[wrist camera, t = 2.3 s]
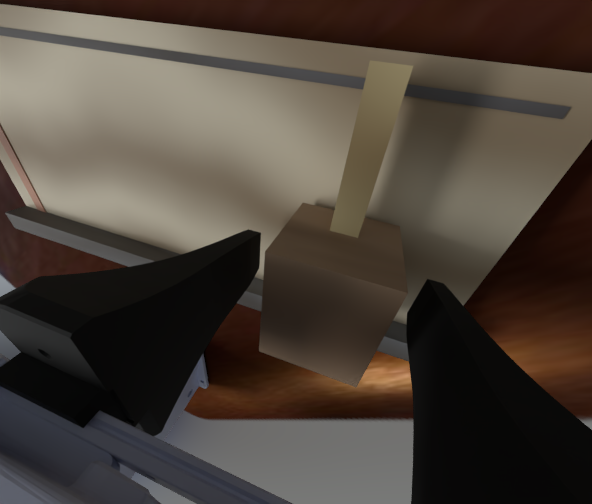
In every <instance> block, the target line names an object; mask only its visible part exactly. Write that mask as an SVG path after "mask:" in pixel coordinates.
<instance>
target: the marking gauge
mask: <svg viewBox="0 0 592 504" xmlns="http://www.w3.org/2000/svg"><path fill="white" fill-rule="evenodd" d="M412 69H413V66H410V65H402V64H394V63H386V62H379V61H371V60H370V62H369V67H368V71H367V75H366V79H365V84H364V88H363V92H362V96H361V100H360V105H359V109H358V113H357V117H356V122H355V126H354V130H353V134H352V138H351V143H350V147H349V151H348V155H347V159H346V164H345V168H344V172H343V176H342V181H341V185H340V189H339V193H338V197H337V202H336V206H335V210H331V209H327V208H323V207H319V206H315V205H311V204H307V203H302V204H301V206H300V207H299V208H298V210H297V211H296V212H295V213H294V215H293V216H292V217H291V219H290V220H289V221H288V223H287V224H286V225H285V226H284V228H283V229H282V230H281V232H280V233H279V234H278V235H277V237H276V238H275V239H274V241H273V242H272V243H271V245H270V246H269V247H268V248H267V250H266V251H265V260H264V277H263V293H262V309H261V326H260V342H259V351H260V352H262V353H265V354H268V355H271V356H273V357H276V358H279V359H281V360H284V361H287V362H289V363H292V364H295V365H297V366H300V367H303V368H306V369H308V370H311V371H314V372H316V373H319V374H322V375H324V376H327V377H330V378H332V379H335V380H338V381H341V382H343V383H346V384H349V385H351V386H354V387H357V385H358V383H359V381H360V379H361V378H362V376H363V374H364V372H365V370H366V369H367V367H368V365H369V363H370V361H371V360H372V358H373V356H374V354H375V352H376V350H377V349H378V347H379V345H380V343H381V341H382V340H383V338H384V336H385V334H386V332H387V331H388V329H389V327H390V325H391V323H392V321H393V320H394V318H395V316H396V314H397V312H398V311H399V309H400V307H401V305H402V303H403V301H404V300H405V298H406V296H407V294H408V288H407V280H406V272H405V264H404V256H403V248H402V240H401V232H400V226H397V225H393V224H389V223H385V222H381V221H376V220H372V219H368V218H365V214H366V211H367V208H368V205H369V202H370V199H371V196H372V193H373V190H374V187H375V183H376V180H377V177H378V174H379V171H380V168H381V165H382V162H383V159H384V156H385V152H386V149H387V146H388V143H389V140H390V137H391V134H392V131H393V128H394V125H395V121H396V118H397V115H398V112H399V109H400V106H401V103H402V100H403V97H404V94H405V90H406V87H407V84H408V81H409V78H410V75H411V72H412Z"/></svg>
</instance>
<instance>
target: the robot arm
mask: <svg viewBox="0 0 592 504" xmlns="http://www.w3.org/2000/svg"><path fill="white" fill-rule="evenodd" d="M260 243H261V233H260V232H257V231H253V230H249V229H248V230H245V231H242V232H240V233H237V234H235V235H232V236H230V237H228V238H225V239H223V240H220V241H218V242H215V243H213V244H210V245H207V246H205V247H202V248H199V249H196V250H193V251H191V252H188V253H185V254H182V255H178V256H175V257H171V258H167V259H164V260H160V261H155V262H151V263H146V264H141V265H136V266H131V267H126V268H119V269H113V270H106V271H98V272H90V273H80V274H68V275H56V276H42V277H38V278H36V279H34V280H32V281H30V282H28V283H26V284H24V285H22V286H20V287H18V288H16V289H15V290H13V291H11V292H9V293H7V294H5V295H3V296H1V297H0V330H1V331H2V333H4V335H5V336H6V337H7V338H8V339H9V340H10V341H11V342H12V343H13V344H14V345H15V346H16V347H17V348H18V349H19V350H20V351H21V353H19V354H18V355H17V356H15V357H14V358H13V359H11V360H9V359H8V358H6V357H5V356H3V355H2V354H0V504H161V503H160V502H158V501H157V500H156V499H155V498H154V497H153V496H151V494H150V493H149V491H148V489H146V488H145V487H143V486H141V485H140V484H138V483H136V482H135V481H133V480H131V478H132V476H133V475H134V473H135V472H137V473H139V474H141V475H143V476H145V477H147V478H149V479H151V480H153V481H154V482H156V483H158V484H160V485H162V486H164V487H166V488H168V489H170V490H172V491H174V492H175V493H177V494H179V495H181V496H183V497H185V498H187V499H189V500H191V501H193V502H195V503H197V504H292V503H290V502H288V501H286V500H284V499H282V498H280V497H278V496H276V495H274V494H271V493H269V492H267V491H265V490H263V489H261V488H259V487H257V486H255V485H253V484H251V483H249V482H247V481H245V480H243V479H241V478H239V477H236V476H234V475H232V474H230V473H228V472H226V471H224V470H222V469H220V468H218V467H216V466H214V465H212V464H209V463H207V462H205V461H203V460H201V459H199V458H197V457H195V456H193V455H191V454H189V453H187V452H185V451H183V450H181V449H178V448H176V447H174V446H172V445H170V444H168V443H166V442H164V440H165V438H166V437H167V435H168V434H169V432H170V430H171V429H172V427H173V425H174V424H175V423H176V421H177V420H178V418H179V416H180V415H181V413H182V412H183V410H184V409H185V407H186V406H187V404H188V402H189V401H190V399H191V398H192V396H193V395H194V393H195V391H196V390H197V388H198V387H199V386H200V387H202V388H205V389H206V388H207V387H208V386H209V383H208V377H207V371H206V366H205V360H204V354H203V352H204V351H205V349H206V347H207V346H208V344H209V342H210V341H211V339H212V337H213V336H214V334H215V332H216V331H217V329H218V328H219V326H220V325H221V323H222V322H223V320H224V319H225V318H226V316H227V315H228V314H229V312H230V311H231V310H232V308H233V307H234V306H235V304H236V303H237V302H238V301H239V299H240V298H241V297H242V295H243V294H244V292H245V291H246V290H247V288H248V287H249V286H250V284H251V282H252V281H253V279H254V277H255V275H256V273H257V271H258V269H259V265H260ZM406 337H407V347H408V356H409V364H410V373H411V381H412V390H413V413H414V441H413V442H414V443H413V479H412V501H411V504H592V430H591V429H590V428H589V427H587V426H586V425H585V424H584V423H582V422H581V421H580V420H579V419H578V418H576V417H575V416H574V415H573V414H572V413H571V412H569V411H568V410H567V409H566V408H565V407H563V406H562V405H561V404H560V403H559V402H557V401H556V400H555V399H554V398H553V397H552V396H551V395H549V394H548V393H547V392H546V391H545V390H544V389H543V388H542V387H540V386H539V385H538V384H537V383H536V382H535V381H534V380H533V379H532V378H531V377H530V376H529V375H528V374H527V373H525V372H524V371H523V370H522V369H521V368H520V367H519V366H518V365H517V364H516V363H515V362H514V361H513V360H512V359H511V358H510V357H509V356H508V355H507V354H506V353H505V352H504V351H503V350H502V349H501V348H500V347H499V346H498V345H497V343H496V342H495V341H494V340H493V339H492V338H491V337H490V336H489V335H488V334H487V333H486V332H485V330H484V329H483V328H482V327H481V326H480V325H479V324H478V323H477V321H476V320H475V319H474V318H473V317H472V316H471V314H470V313H469V312H468V311H467V310H466V309H465V307H464V306H463V305H462V304H461V303H460V301H459V300H458V299H457V298H456V297H455V295H454V294H453V293H452V292H451V291H450V290H449V289H448V287H447V286H446V285H445V284H444V283H441V282H437V281H433V280H430V279H427V280H426V282H425V284H424V285H423V287H422V289H421V290H420V292H419V294H418V295H417V297H416V299H415V300H414V302H413V304H412V306H411V307H410V309H409V311H408V312H407V326H406Z"/></svg>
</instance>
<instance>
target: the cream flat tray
mask: <svg viewBox="0 0 592 504" xmlns="http://www.w3.org/2000/svg"><path fill="white" fill-rule="evenodd" d="M370 60H371V61H379V62H386V63H394V64H402V65H410V66H413V69H412V72H411V75H410V78H409V81H408V84H407V87H406V90H405V94H404V97H403V100H402V103H401V106H400V109H399V112H398V115H397V118H396V121H395V125H394V128H393V131H392V134H391V137H390V140H389V143H388V146H387V149H386V152H385V156H384V159H383V162H382V165H381V168H380V171H379V174H378V177H377V180H376V183H375V187H374V190H373V193H372V196H371V199H370V202H369V205H368V208H367V211H366V214H365V218H368V219H372V220H376V221H381V222H385V223H389V224H393V225H397V226H400V232H401V240H402V248H403V256H404V264H405V272H406V280H407V288H408V294H407V296H406V298H405V300H404V301H403V303H402V305H401V307H400V309H399V311H398V312H397V314H396V316H395V318H394V320H393V321H392V323H391V325H390V327H389V329H388V331H387V332H386V334H385V336H384V338H383V340H382V341H381V343H380V345H379V347H378V349H377V351H380V352H383V353H386V354H389V355H392V356H395V357H397V358H400V359H403V360H406V361H409V356H408V347H407V337H406V326H407V312H408V311H409V309H410V307H411V306H412V304H413V302H414V300H415V299H416V297H417V295H418V294H419V292H420V290H421V289H422V287H423V285H424V284H425V282H426V280H427V279H430V280H433V281H437V282H441V283H444V284H445V285H446V286H447V287H448V289H449V290H450V291H451V292H452V293H453V294H454V295H455V297H456V298H457V299H458V300H459V301H460V303H461V304H462V305H463V306H464V304H465V303H466V302H467V300H468V299H469V298H470V297H471V295H472V294H473V293H474V291H475V290H476V289H477V287H478V286H479V285H480V284H481V282H482V281H483V280H484V278H485V277H486V276H487V275H488V273H489V272H490V271H491V269H492V268H493V267H494V265H495V264H496V263H497V262H498V260H499V259H500V258H501V256H502V255H503V254H504V252H505V251H506V250H507V249H508V247H509V246H510V245H511V243H512V242H513V241H514V239H515V238H516V237H517V236H518V234H519V233H520V232H521V230H522V229H523V228H524V226H525V225H526V224H527V223H528V221H529V220H530V219H531V217H532V216H533V215H534V214H535V212H536V211H537V210H538V208H539V207H540V206H541V204H542V203H543V202H544V201H545V199H546V198H547V197H548V195H549V194H550V193H551V191H552V190H553V189H554V188H555V186H556V185H557V184H558V182H559V181H560V180H561V178H562V177H563V176H564V175H565V173H566V172H567V171H568V169H569V168H570V167H571V165H572V164H573V163H574V162H575V160H576V159H577V158H578V156H579V155H580V154H581V153H582V151H583V150H584V149H585V147H586V146H587V145H588V143H589V142H590V141H591V140H592V73H584V72H575V71H567V70H558V69H550V68H541V67H533V66H524V65H516V64H507V63H499V62H490V61H482V60H473V59H465V58H456V57H448V56H439V55H431V54H422V53H414V52H405V51H396V50H388V49H379V48H371V47H362V46H354V45H345V44H337V43H328V42H320V41H311V40H303V39H294V38H286V37H277V36H269V35H260V34H252V33H243V32H235V31H226V30H218V29H209V28H201V27H192V26H184V25H175V24H167V23H158V22H150V21H141V20H133V19H124V18H116V17H107V16H98V15H90V14H81V13H73V12H64V11H56V10H47V9H39V8H30V7H22V6H13V5H5V4H0V160H1V162H2V163H3V165H4V167H5V169H6V170H7V172H8V174H9V176H10V177H11V179H12V181H13V183H14V185H15V186H16V188H17V190H18V192H19V193H20V195H21V197H22V199H23V200H24V202H25V204H26V206H25V207H21V208H18V209H15V210H12V211H8V212H5V213H6V215H7V216H8V218H9V219H10V221H11V222H12V224H13V226H14V227H15V228H17V229H20V230H23V231H26V232H28V233H31V234H34V235H37V236H40V237H43V238H46V239H49V240H52V241H55V242H58V243H61V244H64V245H67V246H70V247H73V248H76V249H79V250H82V251H85V252H87V253H90V254H93V255H96V256H99V257H102V258H105V259H108V260H111V261H114V262H117V263H120V264H123V265H126V266H129V267H131V266H136V265H141V264H146V263H151V262H155V261H160V260H164V259H167V258H171V257H175V256H178V255H182V254H185V253H188V252H191V251H193V250H196V249H199V248H202V247H205V246H207V245H210V244H213V243H215V242H218V241H220V240H223V239H225V238H228V237H230V236H232V235H235V234H237V233H240V232H242V231H245V230H248V229H249V230H253V231H257V232H260V233H261V243H260V265H259V269H258V271H257V273H256V275H255V277H254V279H253V281H252V282H251V284H250V286H249V287H248V288H247V290H246V291H245V292H244V294H243V295H242V297H241V298H240V299H239V301H238V302H237V303H238V304H241V305H244V306H247V307H250V308H253V309H256V310H259V311H261V309H262V293H263V277H264V260H265V251H266V250H267V248H268V247H269V246H270V245H271V243H272V242H273V241H274V239H275V238H276V237H277V235H278V234H279V233H280V232H281V230H282V229H283V228H284V226H285V225H286V224H287V223H288V221H289V220H290V219H291V217H292V216H293V215H294V213H295V212H296V211H297V210H298V208H299V207H300V206H301V204H302V203H307V204H311V205H315V206H319V207H323V208H327V209H331V210H335V206H336V202H337V197H338V193H339V189H340V185H341V181H342V176H343V172H344V168H345V164H346V159H347V155H348V151H349V147H350V143H351V138H352V134H353V130H354V126H355V122H356V117H357V113H358V109H359V105H360V100H361V96H362V92H363V88H364V84H365V79H366V75H367V71H368V67H369V62H370Z"/></svg>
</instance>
